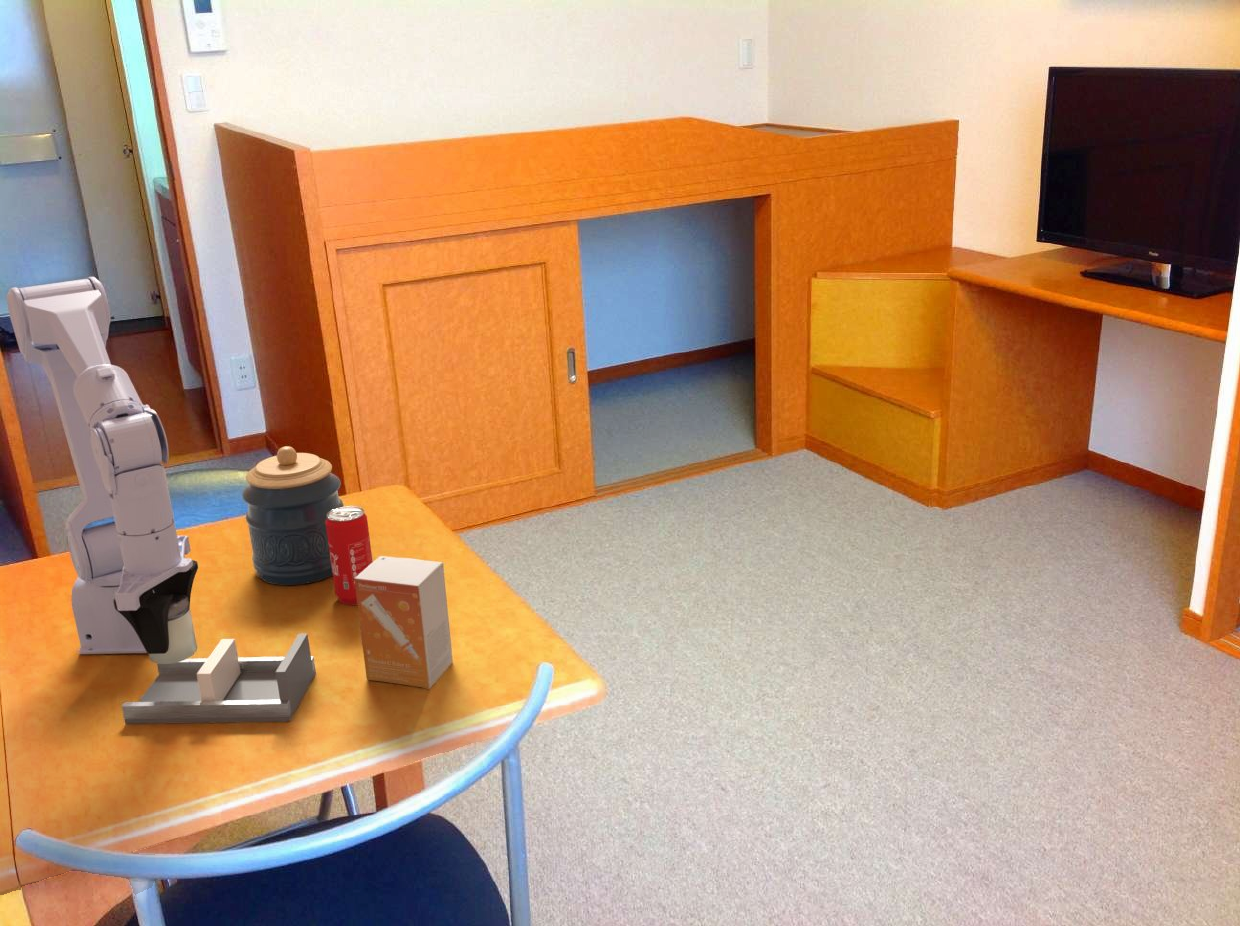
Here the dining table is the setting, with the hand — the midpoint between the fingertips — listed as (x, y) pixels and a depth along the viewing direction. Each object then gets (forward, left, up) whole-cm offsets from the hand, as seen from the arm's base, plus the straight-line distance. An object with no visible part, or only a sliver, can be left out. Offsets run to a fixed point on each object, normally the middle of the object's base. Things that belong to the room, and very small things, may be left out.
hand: (168, 639), depth 127 cm
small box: (+25, +5, -8) cm, 27 cm away
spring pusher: (+5, 0, -8) cm, 9 cm away
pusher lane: (+5, 0, -8) cm, 9 cm away
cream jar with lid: (0, 0, -2) cm, 2 cm away
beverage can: (+14, +24, -8) cm, 29 cm away
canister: (+4, +34, -8) cm, 35 cm away
